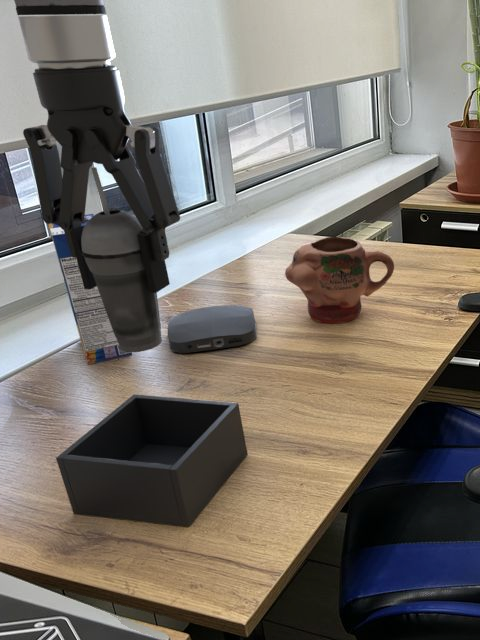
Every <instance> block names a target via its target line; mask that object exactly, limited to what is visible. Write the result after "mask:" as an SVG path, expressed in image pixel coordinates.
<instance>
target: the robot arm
mask: <svg viewBox="0 0 480 640" xmlns="http://www.w3.org/2000/svg"><path fill="white" fill-rule="evenodd" d="M13 1H14V4H15V11H16V14H17V15H16V16H17V18H18V22H19V27H20V30H21V34H22V38H23V42H24V45H25V51H26V53H27V58H28V60H29V61H30V62H31V63H34V64H37V66H38V68H35V69H34V72H32V76H33V79H34V84H35V87H36V90H37V94H38V98H39V99H38V100H39V102H40V105H41V107H43V108H44V109H45V110H46V111H47V120H46V121H47V122H46V124H40V125H37V126H31V127H26V128H24V129H23V131H22V135H23V138H24V139H25V141H26V144H27V146H28V148H29V150H30V152H31V158H32V164H33V169H34V176H35V181H36V189H37V195H38V201H39V206H40V207H39V208H40V213H41V219H42V220H43V222H44V223H45V224H47V225H48V224H51V223H53V224H56V225H58V226H60V227H61V229H63V230H64V232H65V236H66V240H67V244H68V247H69V251H70V254H71V255H72V257H73V258H77V262H78V266H79V270H80V274H81V277H82V281H83V285H84V289H92V288H94V287H96V286H97V285H96V282H95V279H94V276H93V274H92V272H91V271H90V269H89V267H88V265H87V263H86V261H85V258H84V256H83V255H82V246H81V237H82V232H83V229H84V227H85V225H84V226H82V224H83V223H86V222H87V221H88V219H86V218H84V216H85V215H86V206H87V198H88V197H87V196H88V186H89V177H90V169H91V168H92V166H93V163H94V164H97V165H102V166H103V168H104V170H105V172H107V173H108V174H110V175H111V176H112V177H113V179H114V181H115V183H116V184H117V186H118V188H119V190H120V191H121V193H122V195H123V197H124V199H125V200H126V202H127V204H128V205H129V207H130V209H131V211H132V213H133V215H134V216H136V218H137V219H138V221H139V223H140V225H141V226H142V228H143V230H142V231H140V233H139V234H137V236H138V241H139V245H140V250H141V254H142V259H143V263H144V268H145V272H146V277H147V281H148V286H149V290H150V292H151V293H157V294H158V293H159V292H160V291H162V290H163V289H165V288H166V287H168V286H169V285H170V279H169V274H168V269H167V264H166V260H167V259H169V258H170V249H169V245H168V239H167V234H166V229H167V228H168V227H169V226H173V225H175V224H176V223H178V222H180V220H181V215H180V212H179V208H178V204H177V201H176V199H175V196H174V192H173V189H172V186H171V183H170V179H169V175H168V173H167V170H166V167H165V164H164V161H163V157H162V154H161V150H160V130H159V129H158V128H157V126H153V125H151V126H148V127H143V126H139V125H135V124H132V122H131V121H130V119H129V118H128V116H127V113H126V112H125V103H126V99H125V93H124V88H123V83H122V79H121V73H120V70H119V68H117V66H115V65H111V61H112V60H114V59H115V58H116V52H115V47H114V43H113V38H112V33H111V29H110V24H109V19H108V15H107V9H106V7H105V1H104V0H13ZM129 140H130V142H129V145H130V147H131V148H133V149H134V154H135V158H136V159H135V158H134V156H133V154H132V152H131V150H130V149H129V146H128V145H127V144H128V141H129ZM57 143H58V144H59V145H60V146H61V152H60V151H59V148H58V145H57ZM60 155H61V156H60ZM136 162H137V165H138V169H139V171H138V169H137V167H136ZM139 172H140V173H139ZM85 219H86V220H85Z"/></svg>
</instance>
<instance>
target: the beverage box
mask: <svg viewBox="0 0 480 640" xmlns="http://www.w3.org/2000/svg"><path fill="white" fill-rule="evenodd" d="M94 215H95V214H94V213H88V214H85V216H84V218H86V219H88V221H89V220H90V219H91V218H92V217H93V216H94ZM86 219H85V220H86ZM88 221H87V222H88ZM87 222H86V223H87ZM86 223H83V224H82V226H84V225H86ZM47 225H48V228H49V232H50V235H51V238H52V242H53V245H54V246H53V247H54V250H55V253H56V257H57V260H58V264H59V268H60V272H61V274H62V278H63V282H64V286H65V289H66V293H67V296H68V301H69V304H70V308H71V311H72V314H73V318H74V321H75V325H76V329H77V332H78V336H79V340H80V343H81V346H82V350H83V354H84V356H85V360H86V363H87V365H93V364H98V363H102V362H107V361H111V360H116V359H120V358H125V357H129V356H132V355H133V352H125V351H122V350H121V349H120V346H119V343H118V341H117V339H116V337H115V335H114V332H113V329H112V326H111V324H110V321H109V318H108V315H107V313H106V310H105V307H104V304H103V301H102V299H101V296H100V293H99V290H98V287H97V286H96V287H94V288H92V289H84V285H83V281H82V277H81V274H80V270H79V266H78V262H77V258H73V257H72V255H71V254H70V251H69V247H68V244H67V240H66V236H65V232H64V230H63V229H61V227H60V226H58V225H56V224H53V223H51V224H47Z"/></svg>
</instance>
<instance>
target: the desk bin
mask: <svg viewBox="0 0 480 640" xmlns="http://www.w3.org/2000/svg"><path fill="white" fill-rule="evenodd" d="M240 409H241V408H240V404H239V402H231V401H218V400H206V399H196V398H195V399H193V398H183V397H170V396H160V395H159V396H158V395H146V394H132V395H131V396H130V397H128V398H127V399H126V400H125V401H124V402H122V403H121V404H120V405H119V406H117V408H115V409H114V410H113V411H111V412H110V413H109V414H108V415H107V416H105V417H103V419H101V420H100V421H99V422H98V423H97V424H95V425H94V426H93V427H92V428H90V430H88V431H87V432H86V433H84V434H83V435H82V436H81V437H79V438H78V439H77V440H76V441H75V442H73V443H72V444H71V445H70V446H69V447H67V448H66V449H65V450H63V451H62V452H61V453H60V454H59V455H57V456H56V457H55V460H56V463H57V466H58V469H59V473H60V475H61V480H62V482H63V485H64V488H65V492H66V494H67V497H68V501H69V504H70V508H71V510H72V513H73V514H74V515H81V516H90V517H99V518H107V519H115V520H125V521H133V522H141V523H149V524H150V523H151V524H159V525H168V526H176V527H183V528H190V527H191V526H192V524H193V523H194V522H195V521H196V519H197V518H198V517H199V515H201V513H202V512H203V511H204V509H206V507H207V505H209V503H210V502H211V501H212V500H213V498H214V497H215V496H216V494H217V493H218V492H219V491H220V490H221V488H222V487H223V486H224V485H225V483H226V482H227V481H228V480H229V478H230V477H231V476H232V475H233V474H234V472H235V471H236V470H237V469H238V467H239V466H240V465H241V463H243V462H244V460H245V458H247V456H248V449H247V443H246V437H245V432H244V427H243V421H242V416H241V410H240Z"/></svg>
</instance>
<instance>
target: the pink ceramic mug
mask: <svg viewBox="0 0 480 640" xmlns="http://www.w3.org/2000/svg"><path fill="white" fill-rule="evenodd" d="M376 262H379V263H383V265H384V266H385V267H386V273H385V275H384V276H383V278H381V279H380V280H379V281H374V280H372V278H371V275H370V274H371V273H370V268H371V266H372V265H373V264H374V263H376ZM394 262H395V261H394V260H393V258H392V257H391V256H390V255H389V254H388V253H386V252H383V251H380V250H369V251H368V250H366V249H364V247H363V245H362V243H361V242H359V241H358V240H356V239H352V238H349V237H340V236H336V235H334V236H328V237H323V238H320V239H316V240H313V241H311V242H308V243H305V244H301V245H300V246H299V247H297V248H296V249H295V251H294V252H293V254H292V260H291V263H290V264H289V265H288V266H287V267H286V268H285V270H284V276H285V278H286V280H287V281H288V282H290V283H291V284H293V285H294V286H296V287H298V289H300V291H301V292H302V294H303V295H304V297H305V298H306V300H307V311H308V315H309V317H310V318H311V319H313V320H314V321H316V322H319V323H325V324H341V323H346V322H351V321H353V320H355V319H356V318H357V317H358V316H359V315H360V313H361V311H362V307H363V306H362V300H361V296H365V297H370V296H371V295H372V294H374V293H375V292H377V291H378V290H380V289H381V288H382V287H383V286H385V285H386V283H387V282H388V281H389V279H391V277H392V276H393V274H394V270H395V263H394Z"/></svg>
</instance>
